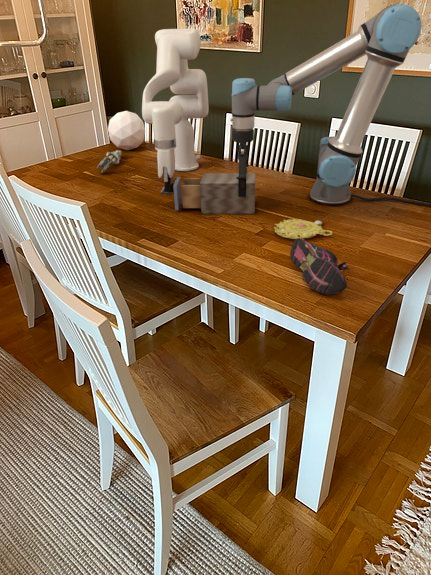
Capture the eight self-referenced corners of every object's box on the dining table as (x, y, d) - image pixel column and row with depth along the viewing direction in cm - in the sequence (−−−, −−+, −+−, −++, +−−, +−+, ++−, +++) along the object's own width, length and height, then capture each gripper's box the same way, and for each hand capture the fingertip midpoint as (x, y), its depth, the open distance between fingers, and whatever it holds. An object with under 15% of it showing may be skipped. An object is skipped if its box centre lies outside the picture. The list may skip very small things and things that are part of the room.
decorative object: (286, 211, 157) (342, 219, 147) (286, 217, 158) (341, 226, 148) (260, 233, 142) (319, 243, 133) (260, 240, 144) (319, 251, 134)
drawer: (160, 210, 163) (158, 185, 158) (165, 200, 172) (163, 176, 167) (224, 210, 161) (223, 185, 156) (225, 200, 170) (225, 176, 165)
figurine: (101, 154, 197) (119, 141, 223) (91, 167, 200) (110, 152, 227) (114, 165, 199) (130, 151, 225) (103, 178, 203) (121, 162, 229)
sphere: (121, 160, 244) (102, 128, 241) (152, 143, 246) (133, 111, 243) (119, 152, 225) (98, 116, 222) (153, 133, 227) (132, 97, 225)
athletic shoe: (333, 284, 107) (372, 276, 111) (293, 223, 119) (330, 218, 123) (316, 311, 116) (353, 303, 120) (281, 252, 127) (315, 246, 132)
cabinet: (201, 213, 162) (199, 183, 156) (204, 202, 172) (203, 173, 165) (254, 213, 161) (255, 183, 154) (254, 202, 170) (255, 173, 164)
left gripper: (158, 138, 162) (163, 187, 171) (150, 149, 149) (156, 201, 159) (178, 138, 161) (182, 186, 171) (172, 149, 148) (176, 201, 158)
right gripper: (233, 121, 160) (233, 179, 172) (230, 137, 141) (230, 202, 152) (254, 120, 160) (253, 179, 172) (254, 137, 140) (252, 202, 152)
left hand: (169, 193), depth 165 cm, fingers closed
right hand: (242, 190), depth 162 cm, fingers closed on cabinet, 11 cm apart
